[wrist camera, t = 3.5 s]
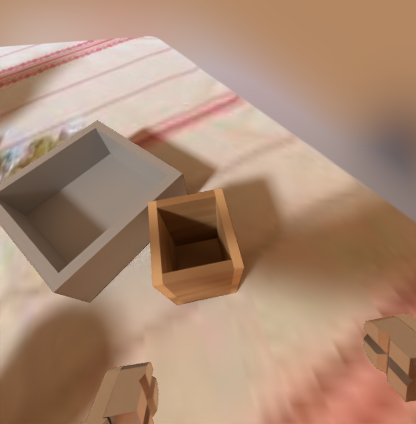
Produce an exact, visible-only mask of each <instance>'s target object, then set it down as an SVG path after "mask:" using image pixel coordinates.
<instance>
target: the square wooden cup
mask: <svg viewBox="0 0 416 424" xmlns="http://www.w3.org/2000/svg"><path fill="white" fill-rule="evenodd" d="M148 214H149V232H150V250H151V267H152V285H153V287H154V288H156V289H157V290H158V291H159V292H161V293H162V294H163V295H165V296H166V297H167V298H169V299H170V300H171V301H172V302H174V303H175V304H176V305H180V304H185V303H190V302H194V301H199V300H204V299H208V298H213V297H218V296H222V295H227V294H232V293H236V292H237V289H238V286H239V283H240V279H241V276H242V272H243V269H244V265H243V261H242V258H241V254H240V251H239V247H238V244H237V240H236V236H235V233H234V229H233V226H232V222H231V219H230V215H229V212H228V208H227V205H226V201H225V198H224V194H223V191H222V188H221V189H215V190H210V191H205V192H200V193H194V194H189V195H184V196H178V197H173V198H168V199H163V200H157V201H152V202H148Z"/></svg>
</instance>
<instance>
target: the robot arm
mask: <svg viewBox="0 0 416 424" xmlns="http://www.w3.org/2000/svg"><path fill="white" fill-rule="evenodd" d="M364 330H365V332H366V333H367V335H366V336H365V337H364V339H363V347H364V349H365V352H366V355H367V356H368V358H369V360H370V361H371V362H372V364H373V365H374V366H375V367H376V368H377V369H379V370H380V371H382V372H384V373H386V376H387V381H388V382H389V384H390V385H391V386H392V387H393V388H394V389H395V390H396V392H397V393H398V394H399V395H400V396H401V397H402V399H403V400H404V401H405V402H409V401H415V400H416V318H414V317H413V316H412V315H409V314H407V313H405V314H399V315H394V316H388V317H383V318H378V319H373V320H369V321H366V322H365V323H364ZM152 374H153V367H152V364H151V362H147V363H141V364H134V365H128V366H123V367H117V368H111V369H109V370H108V371H107V372H106V373H105V376H104V378H103V380H102V383H101V385H100V388H99V390H98V393H97V395H96V398H95V400H94V402H93V405H92V407H91V410H90V412H89V415H88V417H87V420H86V422H83V423H80V424H154V422H153V419H152V417H153V416H154V414H155V413H156V411H157V407H158V383H157V380H156V378H155V377H153V376H152Z"/></svg>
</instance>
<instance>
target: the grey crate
mask: <svg viewBox="0 0 416 424" xmlns="http://www.w3.org/2000/svg"><path fill="white" fill-rule="evenodd" d="M184 195H188V193H187V189H186V185H185V181H184V176H183V173H181V172H180V171H178V170H177V169H175V168H173V167H172V166H170V165H169V164H167V163H165V162H164V161H162V160H160V159H159V158H157V157H156V156H154V155H152V154H151V153H149V152H148V151H146V150H144V149H143V148H141V147H140V146H138V145H136V144H135V143H133V142H132V141H130V140H128V139H127V138H125V137H123V136H122V135H120V134H119V133H117V132H115V131H114V130H112V129H111V128H109V127H107V126H106V125H104V124H103V123H101V122H99V121H98V120H97V121H95V122H94V123H92V124H91V125H89V126H88V127H86V128H85V129H83V130H81V131H80V132H78V133H77V134H75V135H74V136H72V137H71V138H69V139H68V140H66V141H65V142H63V143H61V144H60V145H58V146H57V147H55V148H54V149H52V150H51V151H49V152H48V153H46V154H44V155H43V156H41V157H40V158H38V159H37V160H35V161H34V162H32V163H31V164H29V165H27V166H26V167H24V168H23V169H21V170H20V171H18V172H17V173H15V174H14V175H12V176H11V177H9V178H7V179H6V180H4V181H3V182H1V183H0V225H1V227H2V228H3V229H4V230H5V232H6V233H7V234H8V235H9V237H10V238H11V239H12V241H13V242H14V243H15V244H16V246H17V247H18V248H19V249H20V251H21V252H22V253H23V254H24V256H25V257H26V258H27V260H28V261H29V262H30V263H31V265H32V266H33V267H34V268H35V270H36V271H37V272H38V274H39V275H40V276H41V277H42V279H43V280H44V281H45V282H46V284H47V285H48V286H49V287H50V289H51V290H52V291H53V293H57V294H61V295H64V296H68V297H71V298H75V299H78V300H82V301H85V302H89V303H90V302H91V301H92V300H93V299H94V298H95V297H96V296H97V295H98V294H99V293H100V292H101V291H102V290H103V289H104V288H105V287H106V286H107V285H108V284H109V283H110V282H111V281H112V280H113V279H114V278H115V277H116V276H117V275H118V274H119V273H120V272H121V271H122V270H123V269H124V268H125V267H126V266H127V265H128V264H129V263H130V262H131V261H132V260H133V259H134V257H135V256H136V255H137V254H138V253H139V252H140V251H141V250H142V249H143V248H144V247H145V246H146V245H147V244H148V243H149V242H150V232H149V214H148V202H152V201H157V200H163V199H168V198H173V197H178V196H184Z"/></svg>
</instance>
